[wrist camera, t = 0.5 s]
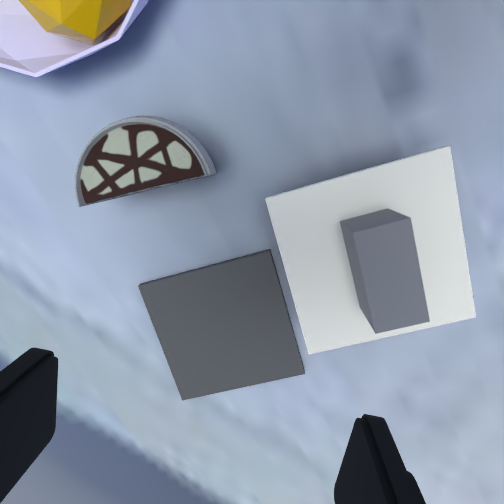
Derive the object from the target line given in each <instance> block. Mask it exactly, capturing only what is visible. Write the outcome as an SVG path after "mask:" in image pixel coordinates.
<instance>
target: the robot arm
mask: <svg viewBox="0 0 504 504" xmlns="http://www.w3.org/2000/svg"><path fill="white" fill-rule="evenodd" d="M57 377H58V358H57V357H54V353H53V352H52V351H49V350H44V349H39V348H31V349H29V350H28V351H26V352H25V353H24V354H23V355H21V356H20V357H19V358H17V359H16V360H15V361H13V362H12V363H11V364H10V365H8V366H7V367H6V368H4V369H3V370H2V371H0V503H1V502H2V500H3V499H4V498H5V496H6V495H7V494H8V493H9V492H10V490H11V489H12V488H13V487H14V485H15V484H16V483H17V482H18V480H19V479H20V478H21V477H22V475H23V474H24V473H25V472H26V470H27V469H28V468H29V467H30V465H31V464H32V463H33V462H34V460H35V459H36V458H37V457H38V455H39V454H40V453H41V452H42V450H43V449H44V448H45V447H46V445H47V444H48V443H49V442H50V440H51V439H52V437H53V434H54V432H55V425H56V401H57ZM334 500H335V504H426V503H425V501H424V498H423V496H422V494H421V491H420V489H419V487H418V485H417V482H416V480H415V478H414V477H413V475H412V474H411V473H410V472H408V471H407V470H406V468H405V466H404V463H403V461H402V459H401V456H400V454H399V452H398V449H397V447H396V444H395V442H394V440H393V437H392V435H391V433H390V430H389V428H388V426H387V423H386V421H385V419H384V418H382V417H377V416H372V415H367V414H364V415H363V416H362V418H357V419H356V421H355V423H354V426H353V430H352V433H351V436H350V439H349V442H348V445H347V449H346V452H345V455H344V458H343V461H342V464H341V468H340V471H339V474H338V477H337V480H336V483H335V488H334Z"/></svg>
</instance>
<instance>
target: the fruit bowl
mask: <svg viewBox="0 0 504 504" xmlns="http://www.w3.org/2000/svg"><path fill="white" fill-rule="evenodd" d="M147 3H148V0H0V67H3V68H6V69H10V70H13V71H16V72H20V73H23V74H26V75H30V76H33V77H39V76H41V75H43V74H46V73H48V72H51V71H53V70H56V69H58V68H60V67H63V66H65V65H68V64H70V63H72V62H75V61H77V60H80V59H82V58H84V57H87V56H89V55H92V54H93V53H95V52H97V51H99V50H101V49H103V48H105V47H106V46H108V45H110V44H112V43H114V42H116V41H118V40H119V39H120V38H121V37H122V35H123V34H124V33H125V32H126V30H127V29H128V28H129V26H130V25H131V24H132V22H133V21H134V20H135V18H136V17H137V16H138V15H139V13H140V12H141V11H142V9H143V8H144V7H145V5H146V4H147Z"/></svg>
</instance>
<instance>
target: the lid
mask: <svg viewBox="0 0 504 504" xmlns="http://www.w3.org/2000/svg"><path fill="white" fill-rule="evenodd" d="M265 200H266V204H267V207H268V211H269V215H270V218H271V222H272V225H273V229H274V233H275V236H276V240H277V243H278V247H279V250H280V254H281V258H282V261H283V265H284V268H285V272H286V275H287V279H288V283H289V286H290V290H291V293H292V297H293V300H294V304H295V308H296V311H297V315H298V318H299V322H300V325H301V329H302V333H303V336H304V340H305V343H306V347H307V350H308V354H314V353H318V352H323V351H327V350H332V349H336V348H341V347H345V346H350V345H354V344H359V343H363V342H368V341H372V340H377V339H381V338H386V337H390V336H394V335H399V334H403V333H408V332H412V331H417V330H421V329H426V328H430V327H435V326H439V325H444V324H448V323H453V322H457V321H462V320H466V319H471V318H475V317H476V313H475V307H474V300H473V294H472V287H471V280H470V274H469V267H468V260H467V254H466V247H465V241H464V234H463V227H462V221H461V214H460V207H459V201H458V194H457V187H456V181H455V174H454V168H453V161H452V154H451V148H450V146H444V147H440V148H436V149H433V150H429V151H426V152H422V153H419V154H415V155H412V156H408V157H405V158H401V159H398V160H394V161H391V162H387V163H384V164H380V165H377V166H373V167H370V168H366V169H363V170H359V171H356V172H352V173H349V174H346V175H342V176H339V177H335V178H332V179H328V180H325V181H321V182H318V183H314V184H311V185H307V186H304V187H300V188H297V189H293V190H290V191H286V192H283V193H279V194H276V195H272V196H269V197H265Z"/></svg>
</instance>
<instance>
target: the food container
mask: <svg viewBox="0 0 504 504" xmlns="http://www.w3.org/2000/svg"><path fill="white" fill-rule="evenodd" d="M214 174H217V173H216V170H215V167H214V165H213V162H212V160H211V158H210V156H209V154H208V152H207V151H206V150H205V148H204V147H203V145H202V144H201V143H200V142H199V141H198V140H197V139H196V138H195V137H194V136H193V135H192V134H191V133H190V132H189V131H187V130H186V129H185V128H183V127H182V126H180V125H178V124H176V123H174V122H172V121H169V120H166V119H163V118H160V117H154V116H136V117H130V118H126V119H122V120H120V121H117V122H114V123H112V124H110V125H108V126H107V127H105V128H103V129H102V130H101V131H99V132H98V133H97V134H96V135H95V136H94V137H93V138H92V139H91V141H90V142H89V143H88V144H87V146H86V147H85V149H84V151H83V153H82V155H81V157H80V159H79V162H78V165H77V170H76V175H75V190H76V198H77V202H78V205H79V207H81V206H85V205H89V204H94V203H98V202H102V201H106V200H111V199H115V198H119V197H123V196H128V195H132V194H136V193H140V192H144V191H148V190H152V189H157V188H161V187H165V186H169V185H173V184H177V183H181V182H185V181H189V180H194V179H198V178H202V177H206V176H210V175H214Z"/></svg>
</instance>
